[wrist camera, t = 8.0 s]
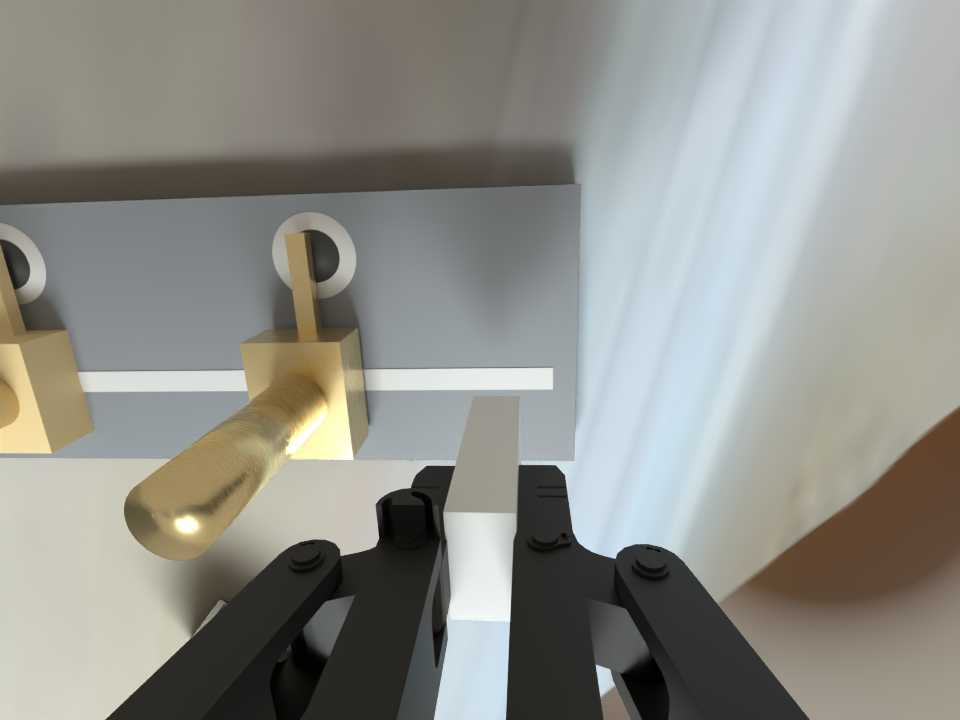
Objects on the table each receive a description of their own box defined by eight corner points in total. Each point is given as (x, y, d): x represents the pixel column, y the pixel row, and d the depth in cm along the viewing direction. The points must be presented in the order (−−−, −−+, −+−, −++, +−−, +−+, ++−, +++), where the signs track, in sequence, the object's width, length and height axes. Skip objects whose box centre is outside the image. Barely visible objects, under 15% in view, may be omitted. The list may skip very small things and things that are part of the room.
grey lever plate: (8, 440, 28) (-363, 614, 16) (-68, 208, 25) (-610, 217, 13) (570, 441, 26) (612, 648, 14) (575, 185, 22) (638, 170, 10)
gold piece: (284, 434, 24) (119, 598, 14) (252, 234, 21) (22, 264, 12) (369, 434, 24) (260, 603, 14) (347, 231, 21) (195, 260, 11)
